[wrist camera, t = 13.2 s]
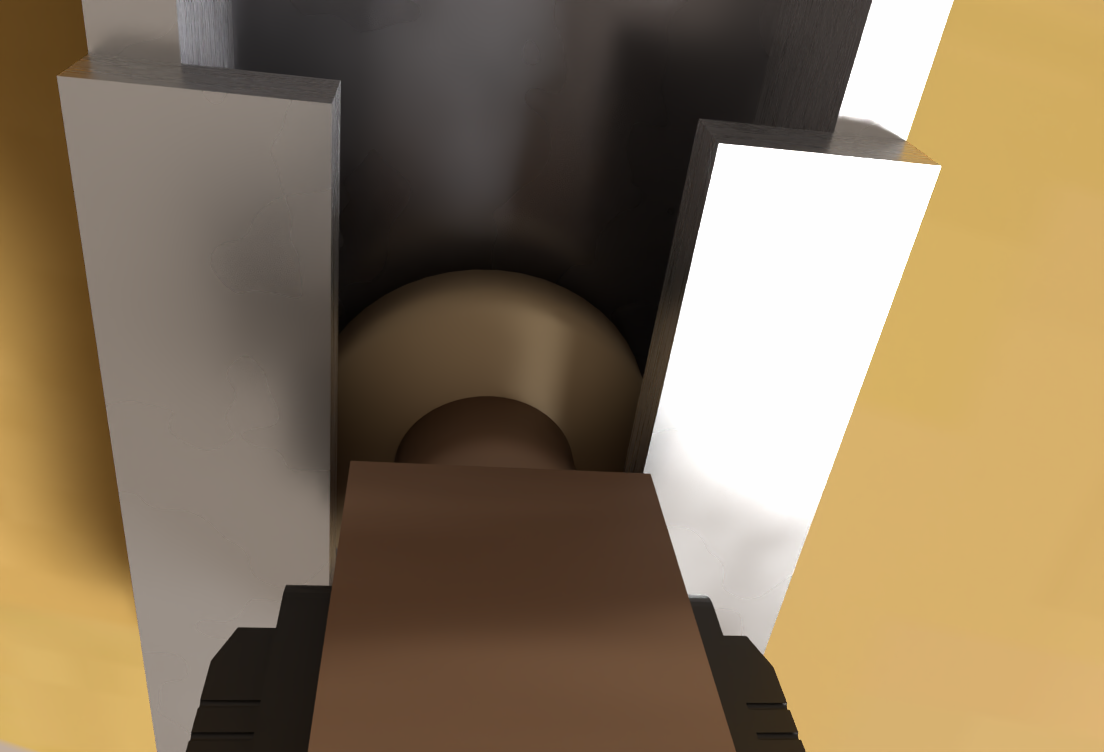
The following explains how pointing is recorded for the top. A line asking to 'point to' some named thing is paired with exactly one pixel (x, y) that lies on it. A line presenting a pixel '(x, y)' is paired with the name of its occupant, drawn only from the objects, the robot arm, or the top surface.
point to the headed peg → (501, 537)
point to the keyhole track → (480, 256)
